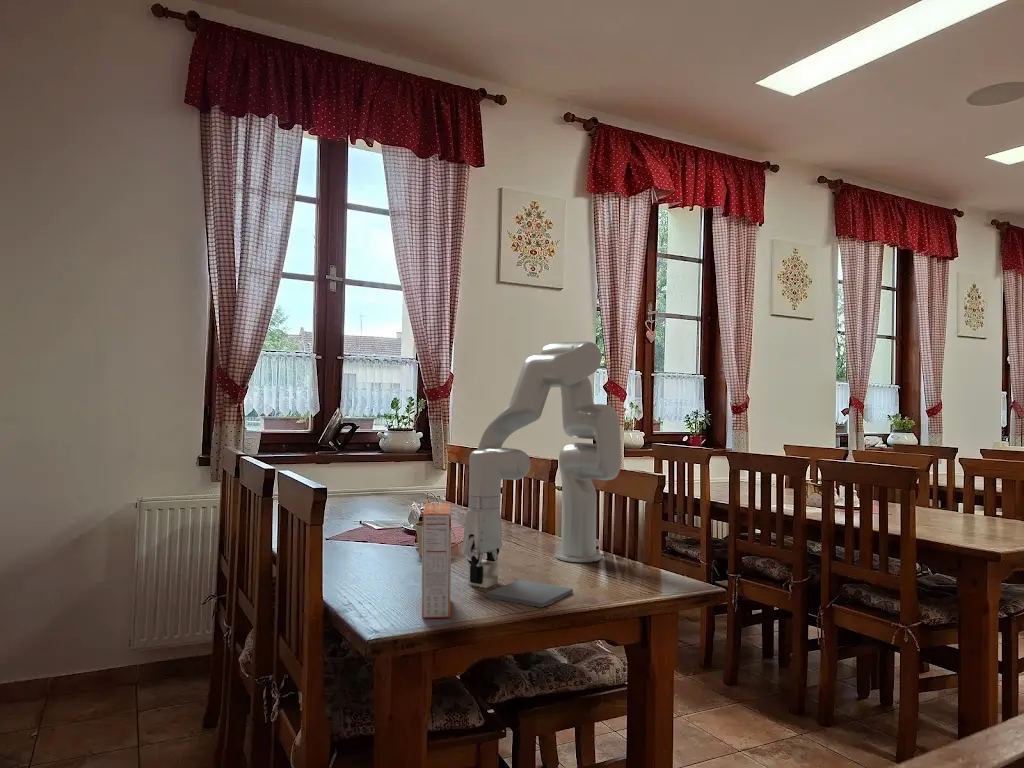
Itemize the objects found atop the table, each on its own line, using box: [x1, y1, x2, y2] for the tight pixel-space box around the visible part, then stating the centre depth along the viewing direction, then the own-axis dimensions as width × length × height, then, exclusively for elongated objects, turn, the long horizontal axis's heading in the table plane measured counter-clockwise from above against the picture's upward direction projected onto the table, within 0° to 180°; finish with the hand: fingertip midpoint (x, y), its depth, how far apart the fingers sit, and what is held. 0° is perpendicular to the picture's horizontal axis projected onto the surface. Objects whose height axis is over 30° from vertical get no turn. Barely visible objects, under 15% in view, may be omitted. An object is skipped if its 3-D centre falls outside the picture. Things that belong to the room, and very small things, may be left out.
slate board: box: [486, 579, 574, 608], centre depth 161 cm, size 14×14×1 cm
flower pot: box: [413, 521, 422, 557], centre depth 200 cm, size 9×9×9 cm
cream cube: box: [467, 559, 499, 589], centre depth 170 cm, size 5×5×5 cm
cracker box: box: [421, 502, 452, 619], centre depth 150 cm, size 14×6×21 cm, turn 5°
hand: (483, 579), depth 170 cm, fingers closed on cream cube, 4 cm apart
